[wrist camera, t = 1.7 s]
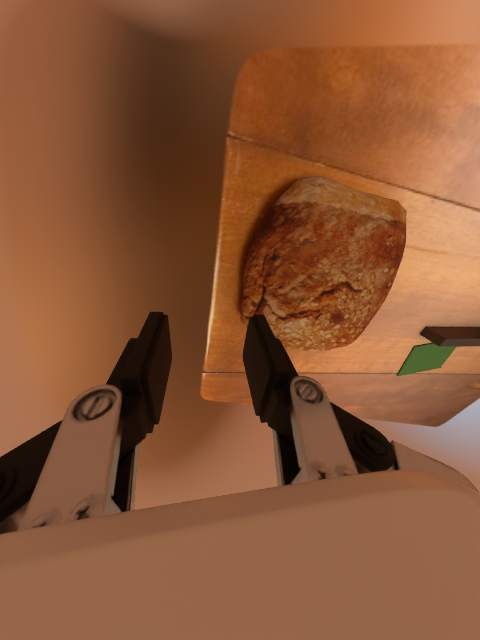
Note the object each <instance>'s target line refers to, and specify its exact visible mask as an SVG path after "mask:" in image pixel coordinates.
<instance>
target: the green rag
mask: <svg viewBox="0 0 480 640" xmlns="http://www.w3.org/2000/svg"><path fill="white" fill-rule="evenodd" d="M456 347H457V346H449V347H439V346H437V345H436V344H434V343H429V344H423V345H418V346H414V347H413V349H412V350H411V352H410V354H409V355H408V357H407V359H406V360H405V362H404V364H403V365H402V367H401V369H400V370H399V372H398V374H397V376H401V375H406V374H411V373H416V372H421V371H426V370H431V369H436V368H440V367H441V366H442V365H443V364H444V362H445V361H446V360H447V358H448V357H449V356H450V354H451V353H452V352H453V351H454V349H455V348H456Z"/></svg>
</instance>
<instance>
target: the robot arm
mask: <svg viewBox="0 0 480 640" xmlns="http://www.w3.org/2000/svg"><path fill="white" fill-rule="evenodd" d="M171 361H172V351H171V342H170V332H169V322H168V315H164V313H163V312H150V313H149V316H148V318H147V320H146V322H145V324H144V326H143V328H142V330H141V332H140V335H139V337H138V338H131V339H130V340H129V341H128V343H127V345H126V347H125V349H124V351H123V353H122V355H121V356H120V359H119V360H118V362H117V364H116V366H115V368H114V370H113V372H112V374H111V376H110V377H109V379H108V381H107V383H106V385H99V386H96V387H92V388H90V389H88V390H86V391H84V392H83V393H81V394H80V395H78V396H77V397H76V398H75V399H74V400H73V401H72V402H71V403H70V405H69V407H68V408H67V411H66V413H65V416H64V418H63V420H61V421H60V422H58V423H56V424H55V425H53V426H51V427H50V428H48V429H46V430H45V431H43V432H41V433H40V434H38V435H36V436H35V437H33V438H31V439H30V440H28V441H27V442H25V443H23V444H21V445H20V446H18V447H17V448H15V449H13V450H11V451H10V452H8V453H6V454H5V455H3V456H1V457H0V640H480V493H479V492H478V490H477V489H476V487H475V486H474V485H473V484H472V483H471V482H470V481H469V480H468V479H467V478H466V477H465V476H464V475H462V474H461V473H460V472H459V471H457V470H455V469H453V468H452V467H450V466H448V465H446V464H444V463H441V462H439V461H437V460H435V459H432V458H430V457H428V456H426V455H424V454H421V453H419V452H417V451H415V450H412V449H410V448H408V447H406V446H403V445H401V444H399V443H397V442H395V441H391V442H389V441H388V440H387V439H386V437H385V436H383V434H381V433H380V432H379V431H378V430H376V429H375V428H374V427H372V426H370V425H369V424H367V423H365V422H363V421H362V420H360V419H358V418H357V417H355V416H353V415H352V414H350V413H348V412H346V411H345V410H343V409H341V408H340V407H338V406H336V405H335V404H333V403H331V402H330V401H329V399H328V396H327V394H326V392H325V390H324V388H323V387H322V386H321V385H320V384H319V383H318V382H317V381H315V380H314V379H312V378H310V377H306V376H298V374H297V372H296V370H295V368H294V366H293V364H292V362H291V360H290V358H289V356H288V354H287V352H286V350H285V348H284V346H283V345H282V343H281V341H280V339H279V338H275V336H274V334H273V332H272V330H271V328H270V326H269V323H268V321H267V319H266V317H265V315H263V314H253V316H252V317H249V321H248V327H247V333H246V338H245V344H244V350H243V362H244V366H245V371H246V375H247V379H248V384H249V388H250V393H251V397H252V401H253V406H254V410H255V414H256V416H260V420H261V423H264V422H267V423H268V426H269V427H270V428H272V429H273V430H272V431H273V440H274V450H275V461H276V472H277V482H278V487H273V488H266V489H260V490H254V491H248V492H242V493H236V494H230V495H223V496H218V497H212V498H206V499H200V500H193V501H187V502H181V503H175V504H169V505H163V506H157V507H151V508H146V509H140V510H134V503H135V489H136V475H137V461H138V446H139V443H140V442H141V441H142V440H143V439H145V437H146V433H152V432H153V427H154V424H158V423H159V420H160V415H161V411H162V405H163V401H164V396H165V391H166V385H167V381H168V376H169V371H170V367H171Z"/></svg>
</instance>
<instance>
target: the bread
mask: <svg viewBox="0 0 480 640" xmlns="http://www.w3.org/2000/svg"><path fill="white" fill-rule="evenodd" d="M405 243H406V210H405V209H404V207H403V206H402V205H401V204H400V203H399V202H398V201H396V200H392V199H388V198H384V197H380V196H376V195H373V194H369V193H363V192H358V191H356V190H353V189H351V188H349V187H347V186H345V185H343V184H340V183H338V182H336V181H334V180H331V179H328V178H324V177H320V176H314V177H309V178H304V179H299V180H295V181H294V182H293V184H292V185H291V186H290V187H289V188H288V189H287V190H286V191H285V192H284V193H283V194H282V195H281V197H280V198H279V199H278V200H277V201H276V203H275V204H274V205H273V206H272V207H271V209H270V210H269V211H268V212H267V214H266V215H265V217H264V219H263V220H262V222H261V224H260V226H259V228H258V230H257V231H256V233H255V235H254V238H253V240H252V243H251V245H250V248H249V250H248V253H247V257H246V262H245V267H244V274H243V292H242V302H241V311H240V314H241V321H242V323H243V324H245V325H246V326H247V327H248V321H249V317H252V316H253V314H263V315H265V317H266V319H267V321H268V323H269V326H270V328H271V330H272V332H273V334H274V336H275V338H279V339H280V341H281V343H282V345H283V346H284V347H286V348H290V349H295V350H304V351H323V350H330V349H334V348H338V347H345V346H347V345H349V344H351V343H352V342H354V341H355V340H356V339H357V338H358V337H359V336H360V334H361V333H362V332H363V331H364V329H365V328H366V327H367V325H368V324H369V323H370V321H371V320H372V318H373V317H374V316H375V314H376V313H377V311H378V310H379V308H380V307H381V305H382V304H383V302H384V301H385V299H386V297H387V295H388V293H389V291H390V289H391V287H392V284H393V282H394V279H395V276H396V274H397V271H398V268H399V265H400V263H401V260H402V257H403V252H404V248H405Z"/></svg>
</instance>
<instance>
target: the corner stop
mask: <svg viewBox="0 0 480 640" xmlns="http://www.w3.org/2000/svg"><path fill="white" fill-rule="evenodd" d="M420 335H422V336H423V337H425V338H426V339H428V340H430V341H431V342H433V343H434V344H436V345H437V346H439V347H449V346H480V328H477V327H425V329H424V330H423V331H422V332H421V334H420Z"/></svg>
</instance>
